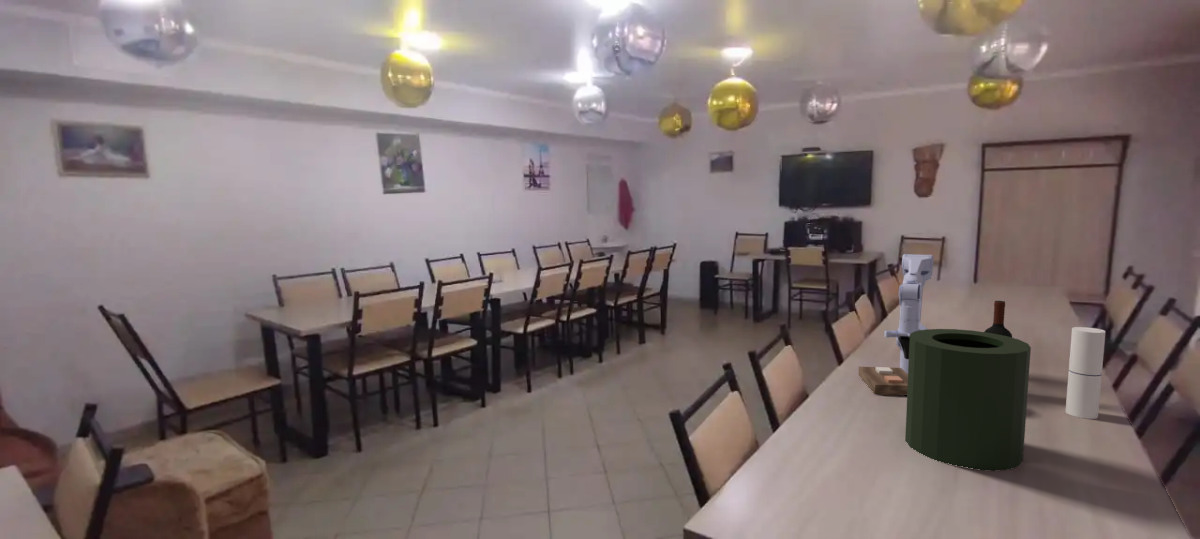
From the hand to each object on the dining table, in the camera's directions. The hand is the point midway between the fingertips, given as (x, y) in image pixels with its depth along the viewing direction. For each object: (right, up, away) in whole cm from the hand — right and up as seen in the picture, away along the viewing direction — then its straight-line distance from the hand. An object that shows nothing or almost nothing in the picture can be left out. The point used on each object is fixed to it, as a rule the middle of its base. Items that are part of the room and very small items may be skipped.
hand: (907, 358), depth 187 cm
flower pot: (-12, -16, -46) cm, 50 cm away
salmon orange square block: (-7, -9, -4) cm, 12 cm away
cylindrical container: (+36, -12, -27) cm, 46 cm away
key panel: (-6, -9, +1) cm, 11 cm away
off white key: (-5, -8, +6) cm, 11 cm away
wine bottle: (+24, -10, -7) cm, 27 cm away
